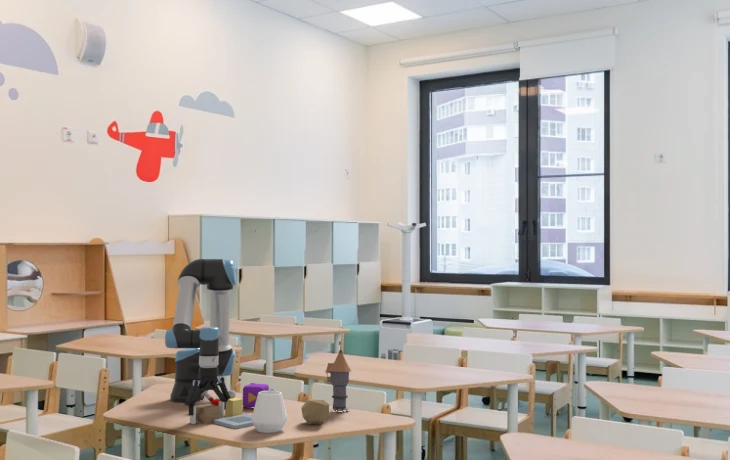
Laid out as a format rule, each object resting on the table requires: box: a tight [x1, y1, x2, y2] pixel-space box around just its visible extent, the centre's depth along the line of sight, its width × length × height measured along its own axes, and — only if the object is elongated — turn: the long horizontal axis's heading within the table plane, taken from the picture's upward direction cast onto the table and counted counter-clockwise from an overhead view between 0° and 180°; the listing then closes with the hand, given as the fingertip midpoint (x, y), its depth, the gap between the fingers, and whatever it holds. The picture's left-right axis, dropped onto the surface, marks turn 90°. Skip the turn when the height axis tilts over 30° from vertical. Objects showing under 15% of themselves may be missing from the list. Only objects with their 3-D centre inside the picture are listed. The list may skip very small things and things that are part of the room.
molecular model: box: [201, 388, 237, 406], centre depth 294 cm, size 18×6×10 cm, turn 67°
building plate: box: [213, 413, 254, 430], centre depth 276 cm, size 14×16×1 cm
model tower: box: [324, 341, 352, 411], centre depth 302 cm, size 10×11×30 cm
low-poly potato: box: [300, 398, 330, 425], centre depth 277 cm, size 15×11×12 cm
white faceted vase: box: [251, 390, 288, 434], centre depth 265 cm, size 13×13×14 cm
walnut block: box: [195, 403, 220, 425], centre depth 277 cm, size 7×7×6 cm
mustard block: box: [224, 397, 244, 418], centre depth 287 cm, size 5×5×7 cm
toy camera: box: [242, 381, 275, 408], centre depth 307 cm, size 11×14×10 cm
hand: (207, 420), depth 277 cm, fingers open, 13 cm apart
